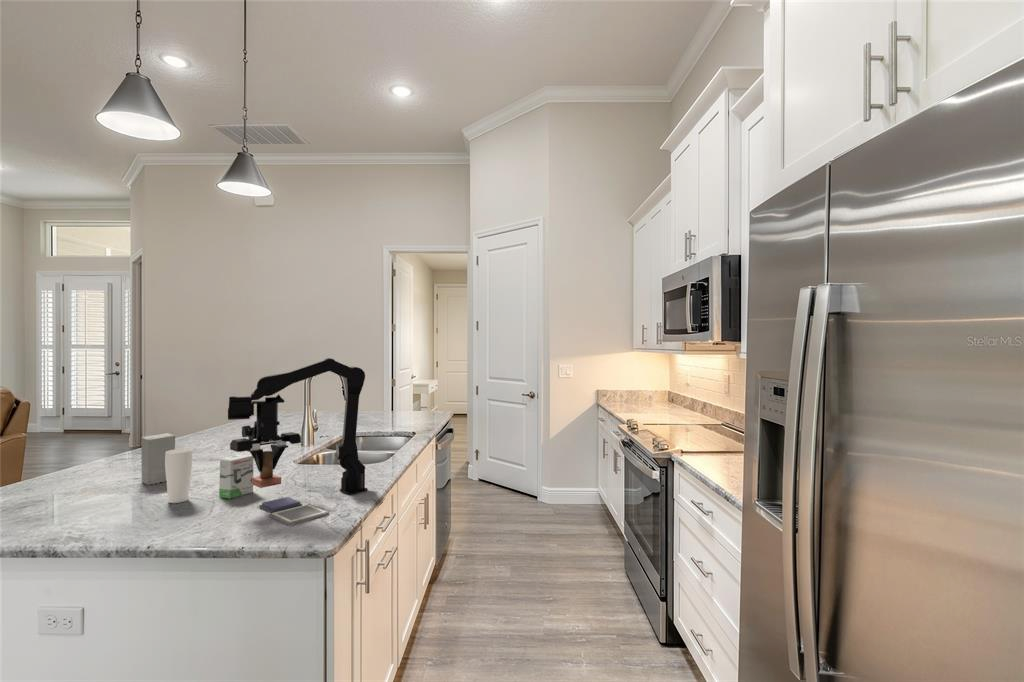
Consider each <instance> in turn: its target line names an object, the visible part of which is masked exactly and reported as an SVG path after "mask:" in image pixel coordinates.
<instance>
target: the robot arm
mask: <svg viewBox="0 0 1024 682" xmlns="http://www.w3.org/2000/svg"><path fill="white" fill-rule="evenodd" d="M327 372H331V373H333V374H336V375H337V376H340V377H342V378H343V384H344V390H345V404H344V405H345V406H344V418H343V430H342V438H341V441H340V443H335V453H334V457H335V458H336V460H337V463H338V464H339V465H340V467H341V468H342V469H344V471H342V477H341V479H340V480H341V481H340V483H341V484H340V489H339V491H340V492H342V493H346V494H348V495H354V494H357V493H362V492H365V491H368V490H369V489H368V488H367V487H366V482H365V481H366V465H364V464H363V462H362V461H361V460H360V459H359V452H358V451H359V450H358V444H357V440H356V439H357V427H358V426H357V425H358V415H359V414H358V413H359V404H360V402H359V401H360V395H361V392H362V389H363V387H364V383H365V381H366V373H365V371H364V370H363V369H362V368H360V367H358V366H348V365H346V364H343V363H341V362H339V361H336V360H335V359H333V358H330V357H327V358H324V359H323V360H321V361H318V362H314V363H312V364H309V365H305V366H302V367H300V368H296V369H294V370H290V371H288V372H287V371H286V372H283V373H276V374H269V375H264V376H261V377H259V379H258V381H257V382H256V388H255V390H254V391H253V392H251V394H250V396H235V395H234V396H232V395H231V396H229V398H228V408H227V420H228V421H238V420H250V417H252V416H255V405H256V421H254V423H253V426H252V427H251V425H244V426H242V427H241V436H242V438H236V439H232V440H231V442H230V443H229V449H230V451H234V452H236V453H238V452H239V453H241V452H249V453H250V454H251V455H252V456H253V458H254V462H255V465H256V468H257V471H258V472H259V473H260V472H262V466H263V452H264V449H263V448H261V446H268V445H270V448H271V451H273V471H274V470H275V469H276V467H277V466H278V465H277V464H278V463H279V461H280V458H281V456H282V455H283V453H284V451H286V449H287V448H289V445H288V444H287V442H289V443H290V444H291V445H295V444H301V443H302V436H301V434H300V433H297V432H294V431H291V432H282V433H281V434H280V435H279V434H278V431H279V430H278V426H280V420H279V421H278V419H279V418H278V417H279V416H278V415H279V411H278V410H279V408H278V407H279V406H278V405H279V403H280V404H282V403H285V399H284V398H283V397H282V396H281V395H280V394H277V393H279V392H280V391H283V390H284V389H285V388H288V387H289V386H291V385H293V384H296V383H299V382H301V381H306V380H307V379H310V378H313V377H315V376H316V377H317V376H319V375H322V374H324V373H327ZM275 394H277V395H276V396H273V395H275ZM264 397H265V398H264ZM263 398H264V400H260V399H263ZM353 493H354V494H353Z"/></svg>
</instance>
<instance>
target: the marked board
mask: <svg viewBox="0 0 1024 682" xmlns="http://www.w3.org/2000/svg"><path fill="white" fill-rule="evenodd" d="M329 514H330V512H329V511H327V510H324V509H322V508H319V507H317V506H314V505H312V504H309V503H307V504H304V505H303V504H302V506H299V507H295V508H291V509H287V510H283V511H279V512H275V513H268V517H269V516H270V517H269V518H271V519H274V520H276V521H278V522H280V523H282V524H284V523H285V524H284V525H286V524H287V526H288V525H290V526H293V524H294V525H297V524H301V523H304V522H307V521H312V520H315V519H318V518H322V516H323V517H326V516H330V515H329ZM325 515H326V516H325ZM296 523H297V524H296Z"/></svg>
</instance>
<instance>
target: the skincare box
mask: <svg viewBox="0 0 1024 682" xmlns="http://www.w3.org/2000/svg"><path fill="white" fill-rule="evenodd" d="M175 449H176V435H174V434H171V433H167V432H166V433H160V434H154V435H153V434H152V435H146V436H141V450H140V451H141V483H142V484H145V483H146V484H145V485H147V484H148V485H147V486H151V485H150V484H153V485H156V484H155V483H157V484H161V483H160V482H162V483H166V482H165V481H166V471H165V454H166V452H167V451H169V450H175Z"/></svg>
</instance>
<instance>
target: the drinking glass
mask: <svg viewBox="0 0 1024 682" xmlns="http://www.w3.org/2000/svg"><path fill="white" fill-rule="evenodd" d="M192 468H193V449H191V448H177V449H176V448H175V450H169V451H167V452H166V454H165V471H166V481H167V482H166V489H167V491H166V492H167V502H168V504H180V503H186V502H187V501H188V500H189V499H190V486H191V479H192V477H191V476H192Z"/></svg>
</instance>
